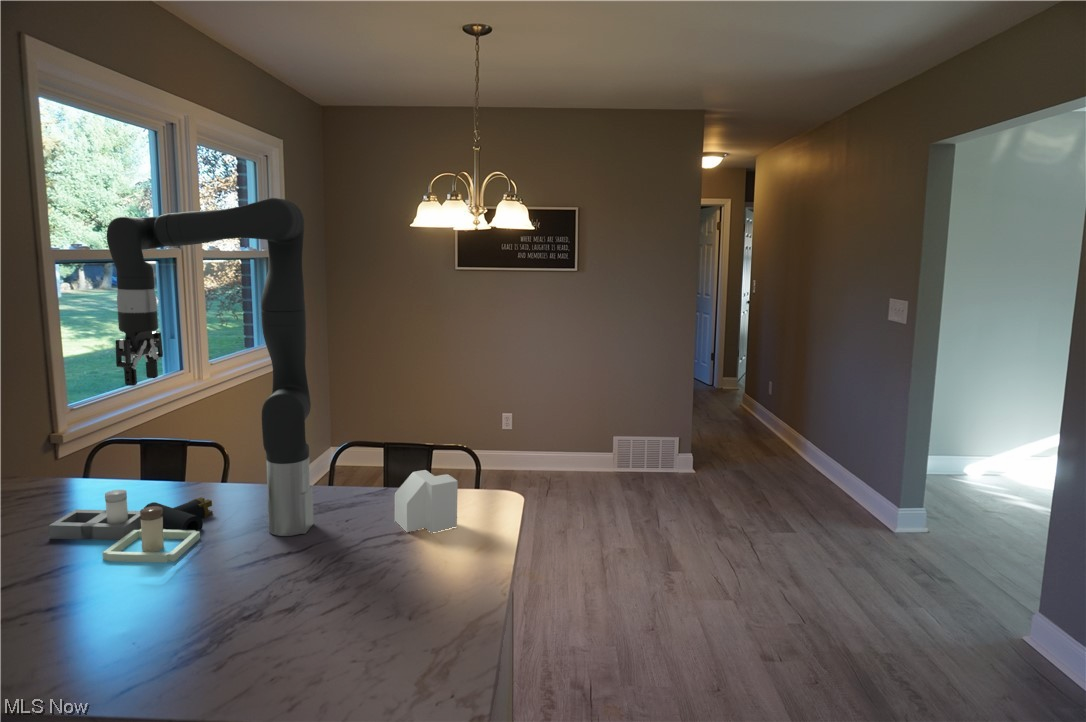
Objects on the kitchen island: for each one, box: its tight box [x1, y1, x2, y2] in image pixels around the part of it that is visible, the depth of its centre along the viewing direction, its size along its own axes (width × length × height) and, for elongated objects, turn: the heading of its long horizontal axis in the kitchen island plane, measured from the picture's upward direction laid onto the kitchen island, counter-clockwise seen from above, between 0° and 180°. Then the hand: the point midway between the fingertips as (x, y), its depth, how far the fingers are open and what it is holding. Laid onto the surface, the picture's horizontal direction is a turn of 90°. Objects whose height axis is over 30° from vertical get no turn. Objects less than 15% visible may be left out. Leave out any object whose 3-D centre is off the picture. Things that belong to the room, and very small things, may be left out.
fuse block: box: [48, 508, 141, 541], centre depth 153 cm, size 16×9×4 cm, turn 91°
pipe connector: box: [143, 496, 214, 532], centre depth 161 cm, size 12×5×15 cm
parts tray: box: [102, 528, 201, 566], centre depth 146 cm, size 14×12×2 cm
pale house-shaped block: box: [394, 469, 459, 534], centre depth 164 cm, size 11×11×12 cm
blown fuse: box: [139, 506, 165, 553], centre depth 145 cm, size 4×4×9 cm
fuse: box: [104, 489, 129, 524], centre depth 153 cm, size 4×4×9 cm
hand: (142, 381), depth 154 cm, fingers open, 8 cm apart
